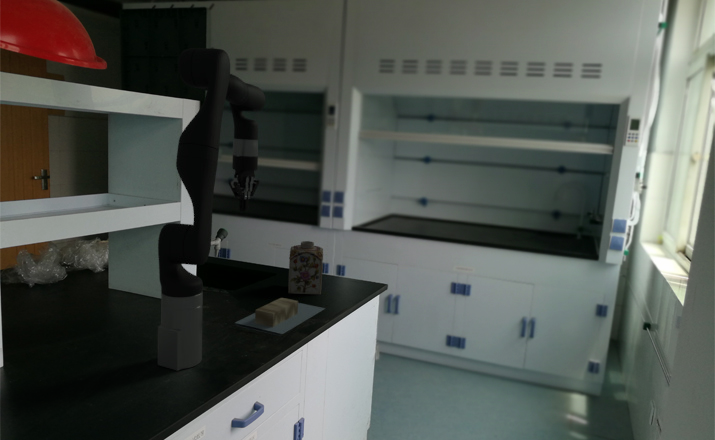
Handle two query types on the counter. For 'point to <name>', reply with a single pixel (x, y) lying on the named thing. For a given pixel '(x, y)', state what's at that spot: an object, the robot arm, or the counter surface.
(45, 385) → the counter surface
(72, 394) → the counter surface
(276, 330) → the mat
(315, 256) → the decorative jar
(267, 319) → the maple block
